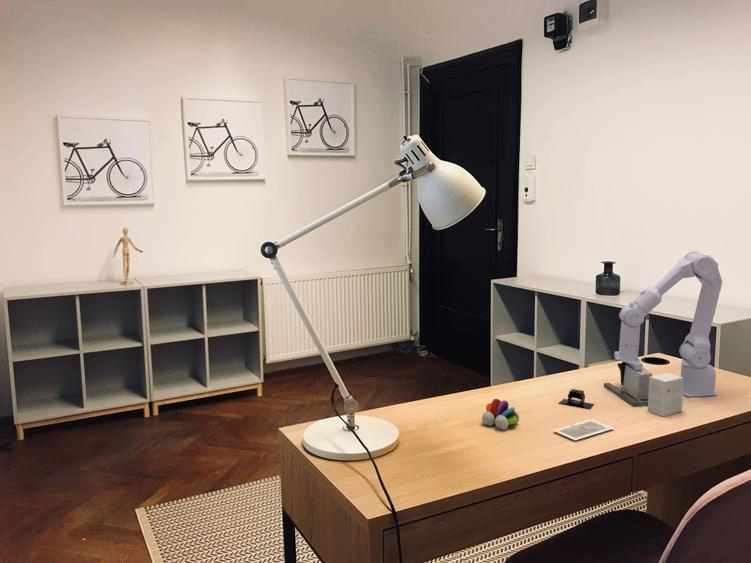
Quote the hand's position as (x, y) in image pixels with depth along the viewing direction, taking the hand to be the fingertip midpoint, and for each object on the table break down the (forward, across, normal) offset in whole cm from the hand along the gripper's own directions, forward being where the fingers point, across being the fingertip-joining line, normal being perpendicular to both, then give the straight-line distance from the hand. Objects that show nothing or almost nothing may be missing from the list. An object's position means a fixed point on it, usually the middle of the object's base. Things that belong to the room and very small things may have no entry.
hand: (625, 385), depth 205 cm
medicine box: (+2, +5, +1) cm, 5 cm away
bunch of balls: (+3, +21, -47) cm, 52 cm away
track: (+2, +5, +1) cm, 5 cm away
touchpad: (+3, +29, -27) cm, 40 cm away
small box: (+2, +19, +2) cm, 19 cm away
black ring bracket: (+3, +9, -20) cm, 22 cm away
